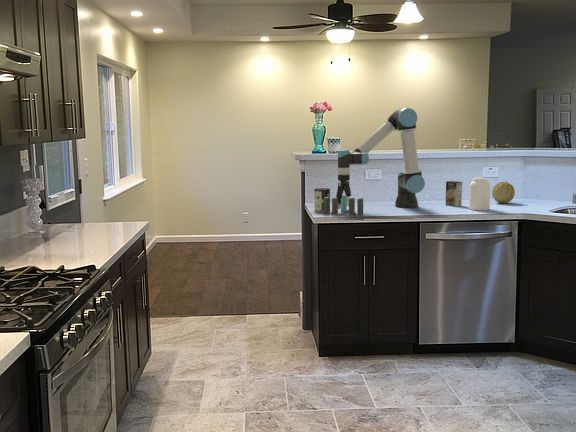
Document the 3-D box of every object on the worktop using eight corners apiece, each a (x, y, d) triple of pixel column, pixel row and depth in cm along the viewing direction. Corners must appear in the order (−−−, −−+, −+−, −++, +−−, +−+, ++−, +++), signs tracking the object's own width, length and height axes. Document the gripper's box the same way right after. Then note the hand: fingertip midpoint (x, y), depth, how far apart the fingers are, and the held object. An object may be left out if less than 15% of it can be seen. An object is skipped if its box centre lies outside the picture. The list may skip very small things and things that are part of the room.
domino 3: (354, 214, 375) (354, 198, 374) (351, 215, 371) (351, 199, 369) (351, 214, 376) (351, 198, 375) (348, 215, 372) (348, 198, 370)
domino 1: (329, 213, 382) (329, 197, 381) (326, 214, 378) (326, 198, 376) (326, 212, 383) (326, 197, 382) (323, 214, 379) (323, 198, 377)
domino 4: (363, 214, 373) (363, 198, 371) (360, 215, 368) (360, 199, 367) (360, 214, 374) (360, 198, 372) (357, 215, 369) (357, 199, 368)
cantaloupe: (488, 203, 415) (489, 181, 413) (495, 201, 427) (495, 179, 425) (511, 204, 407) (512, 182, 405) (517, 202, 419) (517, 180, 417)
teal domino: (346, 210, 392) (346, 195, 391) (343, 211, 388) (343, 196, 386) (343, 210, 393) (343, 195, 392) (340, 211, 389) (340, 195, 387)
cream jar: (472, 207, 397) (473, 176, 394) (492, 208, 390) (493, 177, 387) (466, 209, 387) (467, 178, 384) (485, 211, 380) (486, 179, 377)
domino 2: (338, 213, 380) (337, 197, 378) (335, 214, 376) (334, 198, 374) (335, 213, 381) (334, 197, 379) (332, 214, 376) (331, 198, 375)
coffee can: (331, 209, 399) (331, 188, 397) (329, 211, 389) (329, 189, 387) (315, 209, 401) (315, 188, 399) (313, 211, 391) (313, 189, 389)
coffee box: (444, 205, 412) (445, 181, 410) (451, 204, 416) (451, 180, 413) (455, 206, 405) (456, 182, 402) (462, 205, 408) (462, 181, 406)
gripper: (345, 172, 400) (345, 204, 403) (330, 175, 378) (331, 209, 381) (356, 172, 396) (355, 205, 400) (342, 175, 374) (342, 210, 377)
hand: (343, 207), depth 390 cm, fingers open, 13 cm apart
